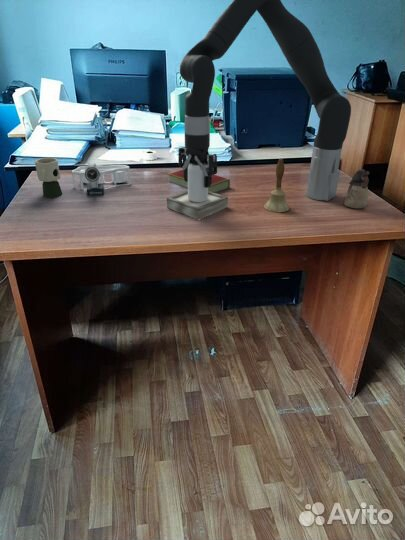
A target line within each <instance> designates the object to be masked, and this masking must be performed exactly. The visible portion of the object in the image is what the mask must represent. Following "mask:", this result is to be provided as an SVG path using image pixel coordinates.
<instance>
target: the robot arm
mask: <svg viewBox="0 0 405 540" xmlns="http://www.w3.org/2000/svg"><path fill="white" fill-rule="evenodd" d="M256 12H257V13H258V14H259V15H260V16H261V18H262V20H263V21H264V22H265V24H266V26H267V28H268V29H269V31H270V33H271V34H272V36H273V38H274V39H275V40H274V41H276V43H277V45H278V46H279V48H280V50H281V53H282V54H283V56H284V57H285V59H286V61H287V63H288V65H289V66H290V68H291V70H292V71H293V73H294V74H295V76H296V77H297V78H298V80H299V81H300V82H301V84H302V85H303V86H304V88H305V89H306V91H307V93H308V95H309V98H310V99H311V102H312V105H313V107H314V109H315V112H316V114H317V117H318V119H319V124H318V128H317V129H318V130H317V133H316V136H315V137H314V140H313V145H312V146H313V147H312V153H311V161H310V167H309V173H308V174H309V175H308V180H307V187H306V194H305V195H306V196H307V197H308V198H310V199H312V200H315V201H316V200H317V201H326V202H329V201H331V200H332V199H335V197H336V196H337V195H336V194H337V190H338V186H339V185H338V184H339V180H340V179H339V178H340V173H341V170H340V169H339V166H340V162H341V161H340V160H341V155H342V150H343V146H344V143H345V140H346V138H347V135H348V129H349V124H350V121H351V120H350V119H351V114H352V105H351V103H350V101H349V100H348V99H347V97H345V96H343V95H342V94H340V92H339V91H338V90H337V88H336V87H335V86H334V83H333V82H332V80H331V79H330V77H329V75H328V73H327V70H326V67H325V63H324V59H323V56H322V54H321V51H320V49H319V46H318V43H317V42H316V40H315V37H314V36H313V34H312V32H311V31H310V29H309V27H308V26H307V25H306V24H304V23H303V22H302V21H301V20H300V19H298V18H297V17H296V16H295V15H294V14H292V13H291V12H290V11H289V10H288V9H287V8H286V6H285V5H284V3H283V2H282V1H281V0H233V1H232V2H231V3H230V4H229V5H228V6H227V7H226V9H225V10H224V11H223V12H222V13H221V14H220V16H219V17H218V18H217V19H216V20H215V22H214V23H213V25H211V27H210V29H209V30H207V33H206V34H205V35H204V37H202V39H201V40H200V41H199V42H197V43H196V44H195V45H194V46H193V47H192V48H190V50H188V51H187V53H186V54H185V55H184V56H183V58H182V60H181V62H180V65H179V73H180V77H181V78H182V80H184V81H185V82H188V83H191V84H192V88H191V92H188V93H187V94H186V96H185V98H184V124H183V125H184V146H182V147H180V148H178V159H177V160H178V163H177V164H178V167H180V168H182V169H183V170H184V179H185V182H188V166H189V162H190V163H193V164H196V165H200V166H199V167H200V169H201V170H202V171H203V172H204V174H205V176H204V187H205V188H208V187H210V186H211V184H212V175H218V174H217V173H218V155H217V154H216V153H214V154H213V153H212V154H211V153H210V152H209V148H210V146H211V145H210V144H211V143H210V141H211V121H210V99H211V96H212V92H213V87H214V83H215V76H216V69H215V68H216V67H215V65H214V62H213V61H217V60H219V59H221V58H223V56H224V55H225V54H226V53H227V52H228V50H229V49H230V47H231V46H232V45H233V44H234V42H235V41H236V39H237V38H238V36H239V35H240V34H241V32H242V31H243V30H244V28H245V26H246V25H247V23H249V21H250V19H251V18H252V16H253V17H254V14H255V13H256ZM206 163H207V165H205V166H204V164H206ZM206 168H207V170H206ZM207 171H208V172H207Z"/></svg>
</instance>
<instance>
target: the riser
mask: <svg viewBox="0 0 405 540" xmlns="http://www.w3.org/2000/svg"><path fill="white" fill-rule="evenodd" d="M228 198H229V197H228V196H227V195H223V194H219V193H217V192H214V193H213V192H210V191H208V199H207V200H206V201H205V202H200V203H196V202H191V201H190V200H189V199H188V189H187V190H185V191H182V192H179V193H176V194H173V195H171V196H169V197H166V208H168V209H171V210H172V211H175V212H178V213H180V214H182V215H185V216H187V215H188V216H187V217H190V216H191V217H190V218H192V217H193V218H192V219H195V218H196V219H195V220H197V219H200V220H202V219H204V217H205V218H206V216H207V217H209V216H211V215H214V214H216V213H218V212H220V211H223V210H224V209H226V208H228V204H229V203H228V200H229V199H228ZM213 213H214V214H213ZM208 215H209V216H208ZM201 218H202V219H201Z"/></svg>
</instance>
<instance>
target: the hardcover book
mask: <svg viewBox="0 0 405 540" xmlns="http://www.w3.org/2000/svg"><path fill="white" fill-rule="evenodd" d="M166 174H167V176H168V181H169V182H170V183H174V184H176V185H179V186H182V187H184V188H186V189H188V182H185V179H184V170H183V168H182V169H178V170H175V171H171V172H168V173H166ZM230 187H231V180H230V178H227V177H223V176H220V175H218V174H214V175H212V184H211V186H210V187H208V191H210V192H213V193H217V192H220V191H222V190H225V189H229V188H230Z"/></svg>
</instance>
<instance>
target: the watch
mask: <svg viewBox="0 0 405 540" xmlns="http://www.w3.org/2000/svg"><path fill="white" fill-rule="evenodd" d="M86 166H87V168H86V171H85V177H86V179H87V181H88V183H86V188H85V189H86V190H85V191H86V194H87V196H103V195H104V194H105V189H104V186H105V185H104V183H103V182H101V183H100V184H98V182H99V177H100V176H102V175H101V173H99V170H98V169H97V166H96V163H88V164H87V165H86Z"/></svg>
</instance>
